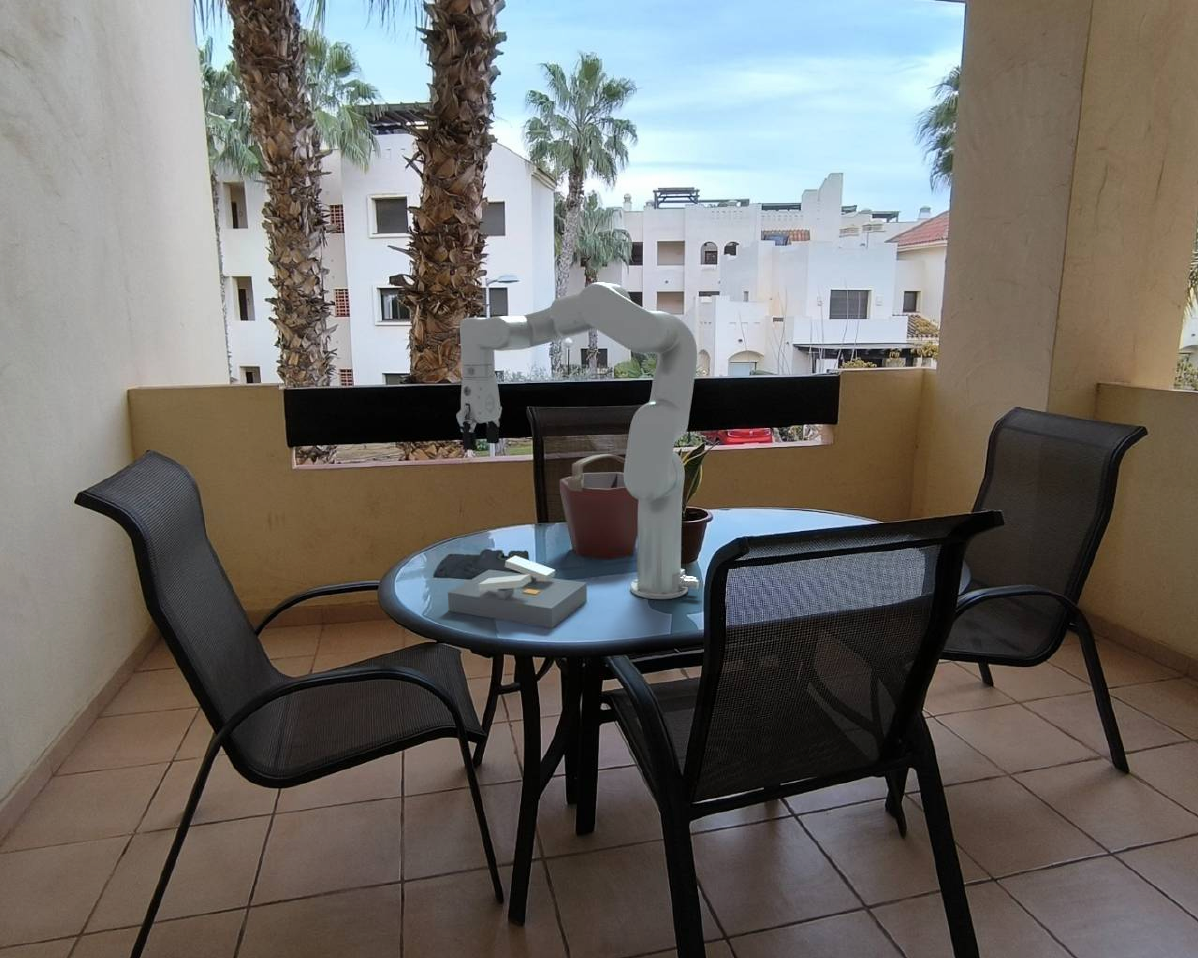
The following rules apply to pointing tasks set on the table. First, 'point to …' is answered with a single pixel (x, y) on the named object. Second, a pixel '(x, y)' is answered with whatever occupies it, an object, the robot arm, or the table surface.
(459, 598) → the switch box
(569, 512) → the bucket
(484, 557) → the dark slate chunk
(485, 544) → the table surface
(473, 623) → the table surface
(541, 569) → the back rocker
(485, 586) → the front rocker
